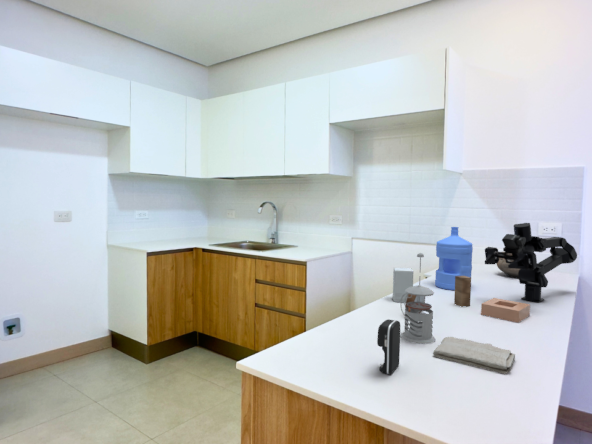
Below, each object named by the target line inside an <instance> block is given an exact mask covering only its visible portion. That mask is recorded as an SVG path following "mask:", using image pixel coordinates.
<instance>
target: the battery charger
mask: <svg viewBox="0 0 592 444" xmlns="http://www.w3.org/2000/svg"><path fill="white" fill-rule="evenodd" d="M377 329H378V330H377V341H376V342H377V343H376V344H377V346H378V347H381V349H382V351H383V353H384V355H383V356H384V359H383V361H384V362H383V364H381V366H380V367H379V371H380V372H382V373H384V374H387V375H392V374H393V373H394V372H395V371H396V369H397V368H398V366H399V365H400V349H401V348H400V346H401V345H400V344H401V322H400V320H396V319H385V320H384V321H383V322H381V323H380V325H379V326H378V328H377Z"/></svg>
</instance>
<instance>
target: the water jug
mask: <svg viewBox="0 0 592 444" xmlns="http://www.w3.org/2000/svg"><path fill="white" fill-rule="evenodd" d="M450 229H451V230H450V235H449V236H446V237H445V238H442V239H440V240H438V241H436V247H435V253H436V257H437V258H438V268H437V269H436V271H435V280H434V284H435V286H436V287H437V288H439V289H444V290H448V291H455V276H467V277H470V278H471V279H472V270H473V265H472V264H473V262H472V261H473V249H474V248H473V242H470V241H468V239H467V240H466V239H464V238H463V237H461V236H459V227H458V226H451V227H450Z"/></svg>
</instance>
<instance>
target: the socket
mask: <svg viewBox="0 0 592 444" xmlns="http://www.w3.org/2000/svg"><path fill="white" fill-rule="evenodd" d="M480 308H481V309H480V312H481V313H480V315H481V316H484V315H486V317H489V316H490V318H493V319H498V318H499V319H500V320H503V321H507V322H513V323H518V324H519V323H521V322H522V321H524V320H525V319H526V318H528V317H530V315H531V304H529V303H524V302H518V301H513V300H507V299H502V298H498V297H493V298H491V299H489V300H487V301H484V302H482V303H481V306H480Z"/></svg>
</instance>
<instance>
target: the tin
mask: <svg viewBox="0 0 592 444" xmlns="http://www.w3.org/2000/svg"><path fill="white" fill-rule="evenodd" d="M408 297H411V294H409V295H408ZM408 297H407V300H406V303H405V305H406V304H407V303H408V302H419V296H416V295H412V297H411V298H408ZM420 302H421V303H423V302H424V303H426V296H420ZM407 307H408V306H407V305H406V308H407ZM408 312H410V308H408ZM420 313H423V311H420V312H418V314H420Z"/></svg>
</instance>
